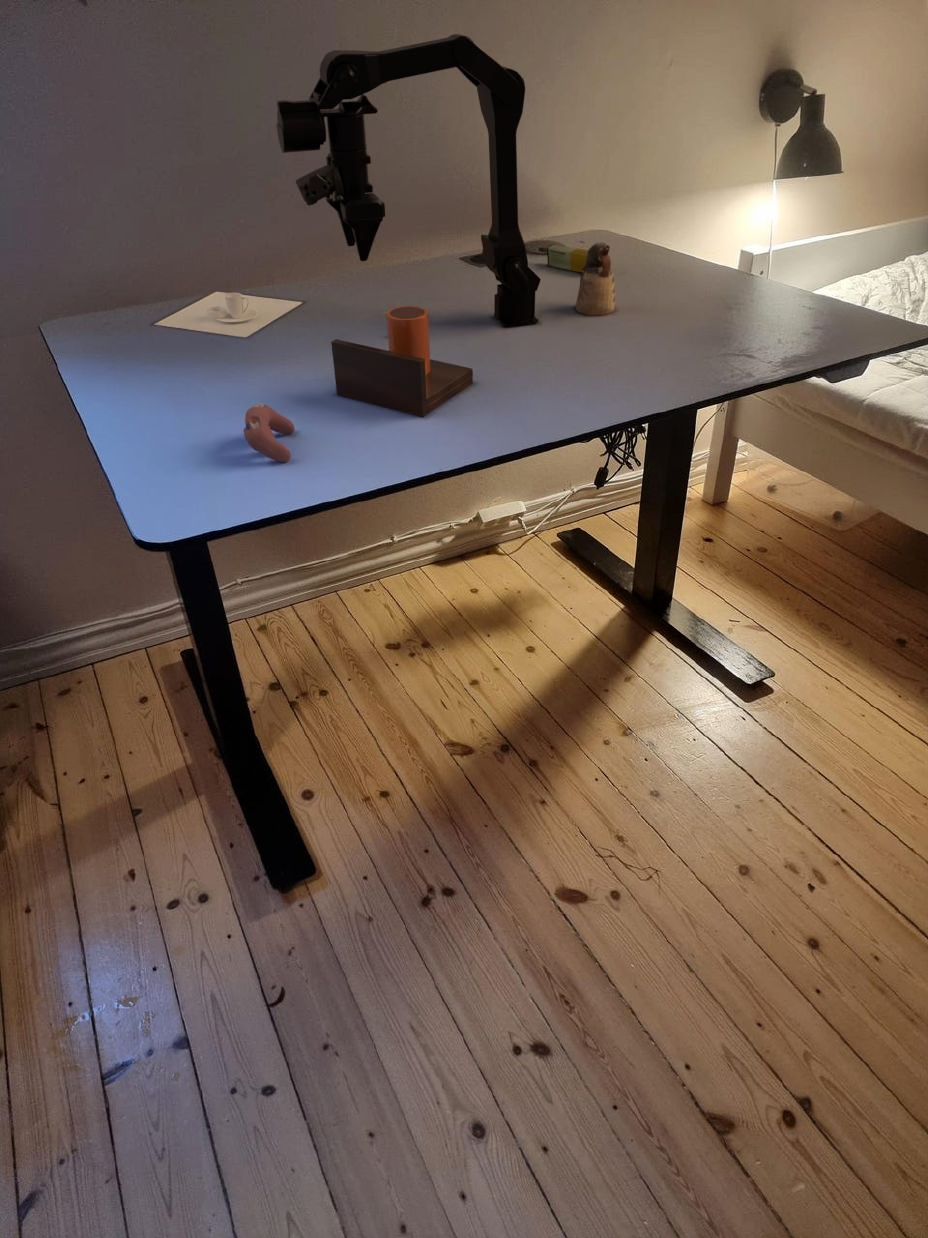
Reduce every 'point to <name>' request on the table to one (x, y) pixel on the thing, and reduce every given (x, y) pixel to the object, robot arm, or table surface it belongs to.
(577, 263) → the medication box
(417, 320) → the cup
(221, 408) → the table surface
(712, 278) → the table surface
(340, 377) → the dark brown wooden piece
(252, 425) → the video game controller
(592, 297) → the figurine
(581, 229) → the table surface
